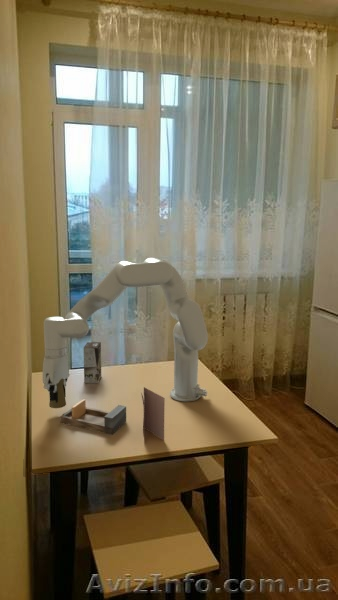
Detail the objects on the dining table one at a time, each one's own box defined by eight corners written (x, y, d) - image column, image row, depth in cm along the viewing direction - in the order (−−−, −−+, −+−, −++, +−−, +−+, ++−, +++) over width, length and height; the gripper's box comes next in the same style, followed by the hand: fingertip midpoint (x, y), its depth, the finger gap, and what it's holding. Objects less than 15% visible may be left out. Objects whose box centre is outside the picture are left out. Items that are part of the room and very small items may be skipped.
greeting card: (141, 427, 151) (141, 386, 148) (162, 427, 151) (162, 386, 148) (141, 444, 140) (141, 401, 137) (164, 444, 140) (164, 400, 137)
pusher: (85, 412, 159) (85, 399, 158) (74, 420, 153) (74, 407, 152) (83, 411, 159) (83, 399, 158) (72, 420, 153) (71, 407, 152)
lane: (126, 421, 155) (126, 406, 154) (112, 434, 146) (112, 418, 144) (76, 411, 162) (76, 396, 161) (60, 423, 153) (59, 407, 152)
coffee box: (98, 383, 189) (97, 347, 186) (83, 383, 190) (82, 347, 186) (101, 375, 198) (101, 341, 195) (87, 375, 198) (87, 341, 195)
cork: (57, 409, 155) (56, 380, 152) (45, 405, 158) (44, 377, 156) (69, 403, 160) (68, 375, 158) (57, 399, 163) (56, 372, 161)
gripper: (61, 343, 164) (62, 389, 167) (31, 356, 149) (34, 406, 152) (78, 346, 161) (79, 392, 165) (49, 359, 146) (52, 410, 149)
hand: (57, 398), depth 158 cm, fingers closed on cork, 3 cm apart
